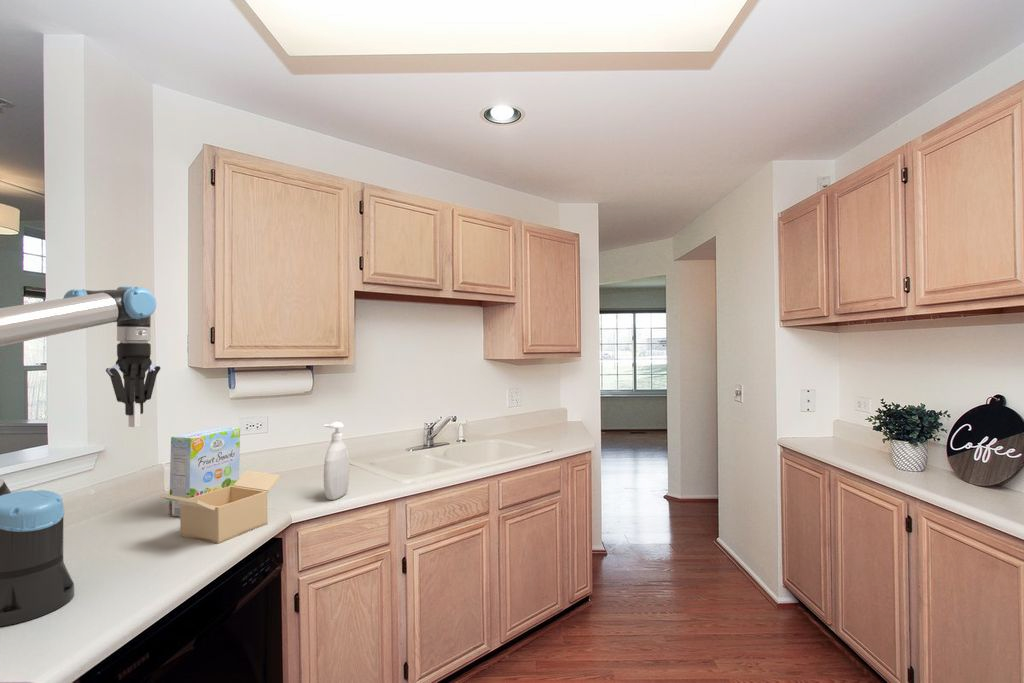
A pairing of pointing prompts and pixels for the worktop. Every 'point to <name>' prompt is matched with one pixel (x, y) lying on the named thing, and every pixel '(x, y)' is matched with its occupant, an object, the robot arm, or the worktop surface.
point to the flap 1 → (188, 502)
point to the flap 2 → (257, 480)
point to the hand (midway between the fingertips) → (134, 426)
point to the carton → (224, 514)
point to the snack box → (203, 463)
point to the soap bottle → (336, 465)
